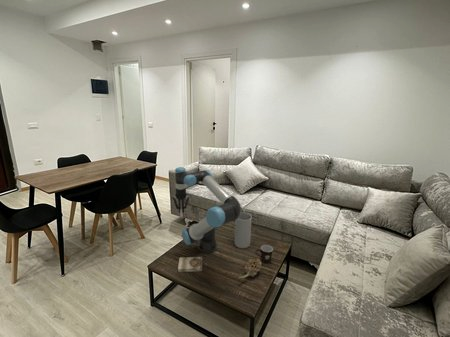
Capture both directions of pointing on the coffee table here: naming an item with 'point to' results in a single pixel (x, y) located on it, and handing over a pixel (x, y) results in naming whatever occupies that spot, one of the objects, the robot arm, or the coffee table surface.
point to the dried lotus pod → (252, 268)
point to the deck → (189, 264)
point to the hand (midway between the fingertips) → (181, 216)
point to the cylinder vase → (243, 230)
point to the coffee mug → (265, 253)
